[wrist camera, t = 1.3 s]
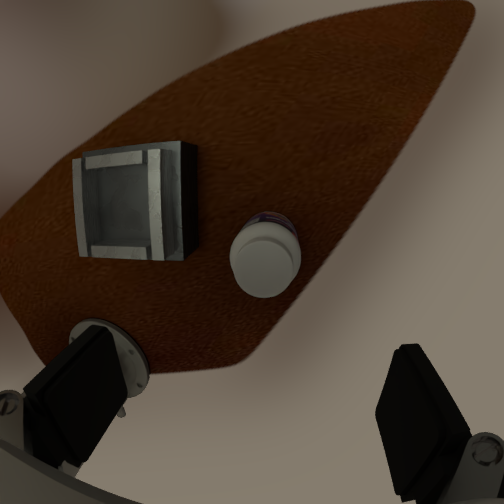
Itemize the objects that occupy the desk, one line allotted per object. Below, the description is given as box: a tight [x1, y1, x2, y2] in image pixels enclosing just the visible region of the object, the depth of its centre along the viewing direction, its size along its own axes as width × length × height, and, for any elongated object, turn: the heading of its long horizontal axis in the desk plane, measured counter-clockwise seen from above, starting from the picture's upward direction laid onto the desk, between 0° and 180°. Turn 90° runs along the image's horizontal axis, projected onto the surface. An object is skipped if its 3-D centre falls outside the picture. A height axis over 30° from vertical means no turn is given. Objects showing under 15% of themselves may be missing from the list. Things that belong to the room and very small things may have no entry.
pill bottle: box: [230, 212, 301, 298], centre depth 24 cm, size 5×5×10 cm
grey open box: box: [73, 141, 199, 261], centre depth 25 cm, size 10×10×8 cm
